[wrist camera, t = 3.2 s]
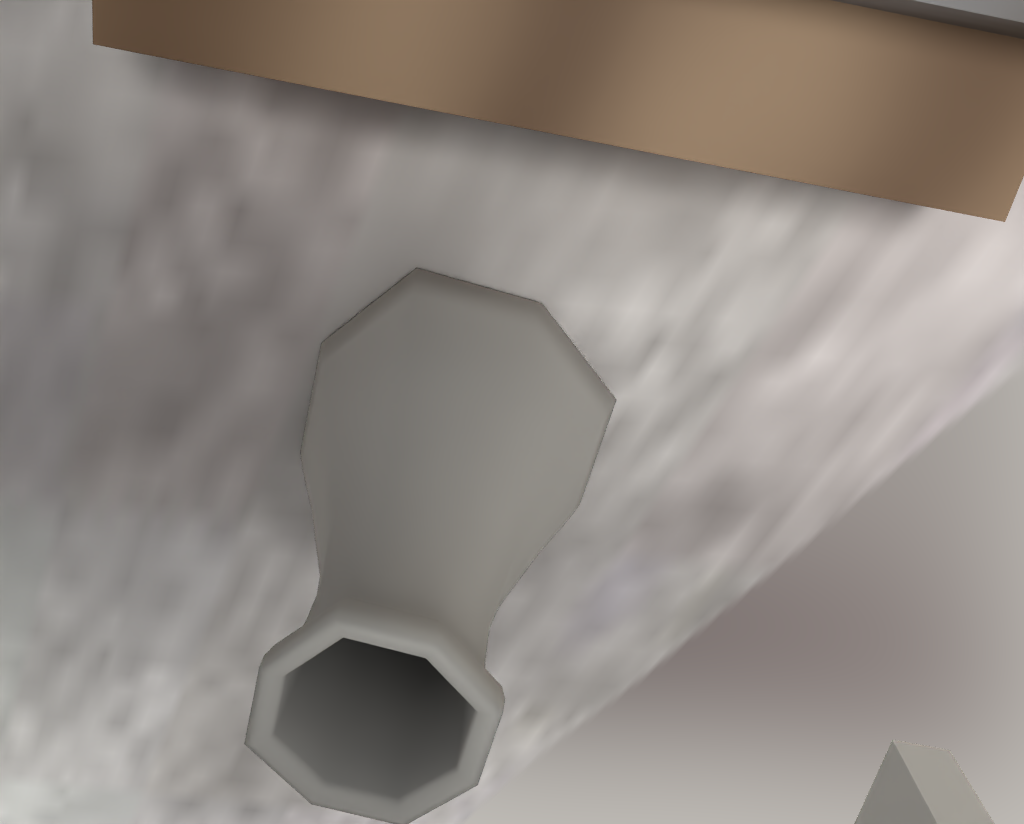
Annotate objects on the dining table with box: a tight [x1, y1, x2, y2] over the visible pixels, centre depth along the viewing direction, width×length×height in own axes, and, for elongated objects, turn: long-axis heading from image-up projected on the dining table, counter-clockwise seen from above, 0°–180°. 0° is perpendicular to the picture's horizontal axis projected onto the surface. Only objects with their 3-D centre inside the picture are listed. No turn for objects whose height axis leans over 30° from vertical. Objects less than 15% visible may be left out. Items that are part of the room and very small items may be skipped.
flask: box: [245, 268, 616, 824], centre depth 15 cm, size 7×7×10 cm
